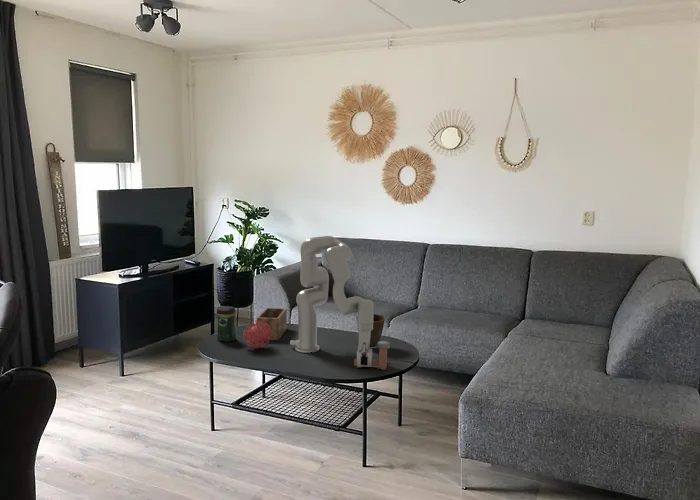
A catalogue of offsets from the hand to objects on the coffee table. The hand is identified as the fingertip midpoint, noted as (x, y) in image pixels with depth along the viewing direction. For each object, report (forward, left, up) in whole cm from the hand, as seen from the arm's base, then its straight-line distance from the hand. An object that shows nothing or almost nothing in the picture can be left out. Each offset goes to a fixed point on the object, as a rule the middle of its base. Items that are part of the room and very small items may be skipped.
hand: (364, 361), depth 270 cm
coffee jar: (-77, +32, -3) cm, 83 cm away
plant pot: (+1, +30, -3) cm, 30 cm away
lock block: (0, 0, -1) cm, 1 cm away
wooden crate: (-55, +46, -2) cm, 72 cm away
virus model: (-57, +20, -3) cm, 60 cm away
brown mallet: (+3, 0, -2) cm, 4 cm away
